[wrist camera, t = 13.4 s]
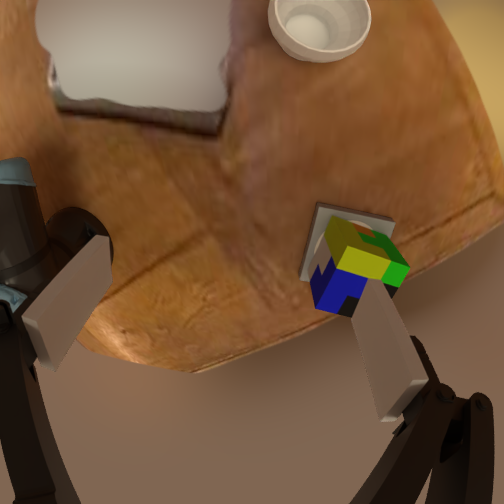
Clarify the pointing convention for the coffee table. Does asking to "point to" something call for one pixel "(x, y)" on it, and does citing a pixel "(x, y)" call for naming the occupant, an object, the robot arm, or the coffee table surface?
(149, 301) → the coffee table surface
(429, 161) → the coffee table surface
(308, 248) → the plinth
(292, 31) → the cup
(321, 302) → the puzzle toy
